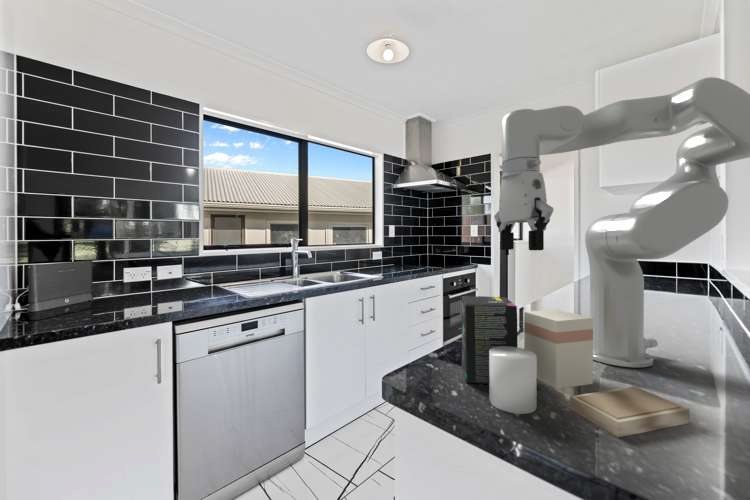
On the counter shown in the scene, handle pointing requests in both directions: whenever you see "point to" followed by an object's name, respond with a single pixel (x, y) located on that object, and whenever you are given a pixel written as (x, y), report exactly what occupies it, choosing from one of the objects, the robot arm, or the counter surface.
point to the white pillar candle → (513, 379)
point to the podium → (629, 411)
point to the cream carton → (560, 347)
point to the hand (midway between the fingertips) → (520, 249)
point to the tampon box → (485, 333)
